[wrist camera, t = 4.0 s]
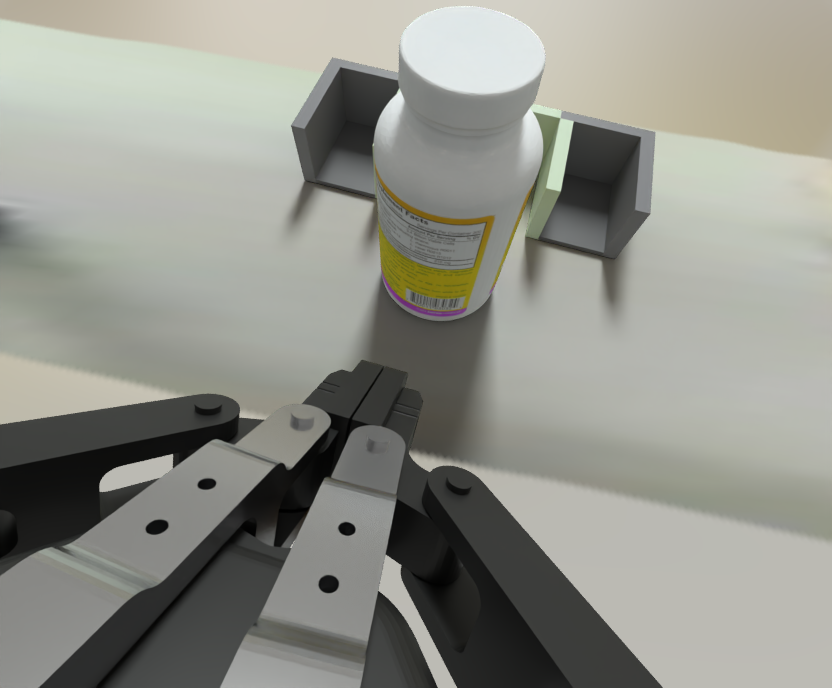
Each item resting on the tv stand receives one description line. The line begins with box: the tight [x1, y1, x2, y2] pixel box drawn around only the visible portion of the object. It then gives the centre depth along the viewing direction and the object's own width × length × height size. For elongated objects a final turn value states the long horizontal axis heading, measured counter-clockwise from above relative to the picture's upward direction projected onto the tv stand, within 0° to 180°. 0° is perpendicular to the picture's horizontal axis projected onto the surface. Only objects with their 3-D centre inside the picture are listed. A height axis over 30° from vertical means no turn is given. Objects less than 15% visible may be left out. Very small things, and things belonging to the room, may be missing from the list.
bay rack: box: [291, 58, 655, 259], centre depth 26 cm, size 20×6×4 cm, turn 74°
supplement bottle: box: [374, 6, 546, 321], centre depth 19 cm, size 7×7×13 cm
